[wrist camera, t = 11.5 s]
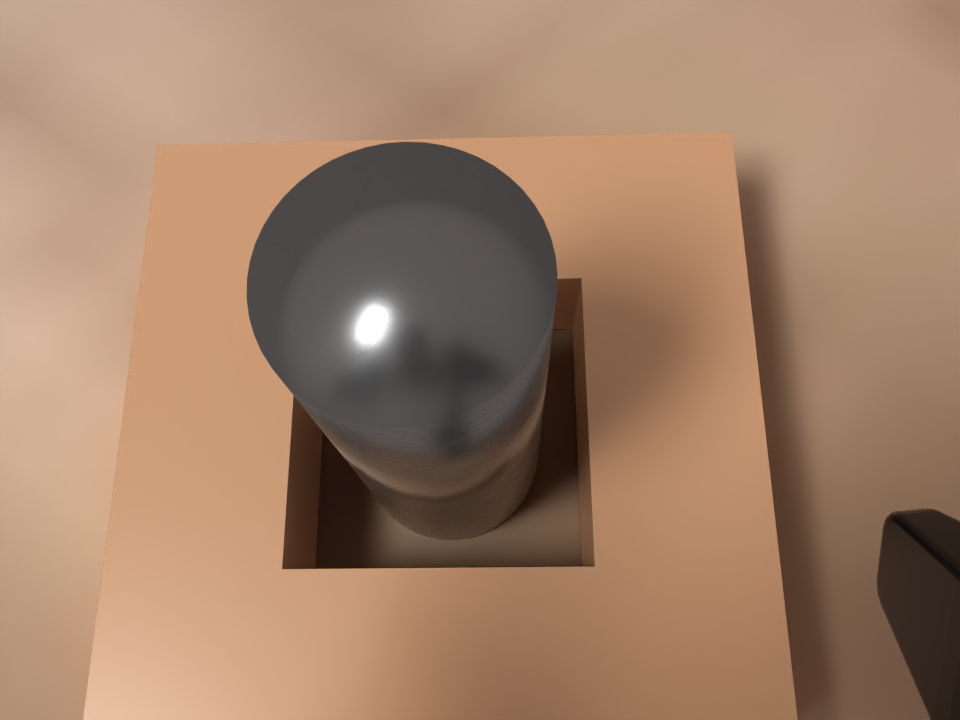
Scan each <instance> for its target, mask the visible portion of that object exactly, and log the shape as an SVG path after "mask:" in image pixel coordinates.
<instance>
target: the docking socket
mask: <svg viewBox="0 0 960 720" xmlns="http://www.w3.org/2000/svg"><path fill="white" fill-rule="evenodd" d="M394 142H426V143H432V144H439V145H445V146H448V147H452V148H455V149H459V150H462V151H465V152H467V153H470V154H472V155H475V156H477V157H479V158H481V159H483V160H485V161H487V162H488V163H490V164H492V165H494V166H495V167H497V168H498V169H499V170H501V171H502V172H504V173H505V174H506V175H508V176H509V177H510V178H511V179H512V180H513V181H514V182H515V183H516V184H517V185H519V186H520V187H521V188H522V189H523V190H524V192H525V193H526V194H527V195H528V197H529V198H530V199H531V200H532V202H533V203H534V204H535V206H536V208H537V209H538V211H539V213H540V214H541V216H542V218H543V219H544V221H545V224H546V226H547V229H548V231H549V234H550V236H551V239H552V243H553V247H554V251H555V255H556V263H557V273H558V276H557V296H556V305H555V314H554V322H553V329H573V353H574V377H575V401H576V426H577V450H578V474H579V498H580V523H581V547H582V567H487V568H368V569H315V564H316V546H317V527H318V509H319V490H320V472H321V453H322V435H323V431H322V430H321V429H320V428H319V426H318V425H317V424H316V423H315V421H314V420H313V419H312V418H311V416H310V415H309V414H308V413H307V411H306V410H305V409H304V408H303V406H302V405H301V404H300V403H299V401H298V400H297V399H296V398H295V397H294V395H293V394H292V393H291V392H290V390H289V389H288V388H287V387H286V385H285V384H284V383H283V382H282V380H281V379H280V378H279V377H278V375H277V374H276V373H275V372H274V371H273V369H272V368H271V366H270V365H269V363H268V362H267V360H266V358H265V357H264V355H263V354H262V352H261V350H260V347H259V345H258V343H257V341H256V338H255V336H254V333H253V330H252V326H251V323H250V319H249V314H248V306H247V275H248V269H249V263H250V259H251V255H252V252H253V249H254V246H255V243H256V240H257V238H258V236H259V234H260V232H261V229H262V227H263V225H264V224H265V222H266V220H267V219H268V217H269V216H270V214H271V212H272V211H273V209H274V208H275V207H276V206H277V204H278V203H279V202H280V201H281V200H282V198H283V197H284V196H285V195H286V194H287V193H288V192H289V191H290V190H291V189H292V188H293V187H294V186H295V185H296V184H297V183H298V182H299V181H301V180H302V179H303V178H305V177H306V176H307V175H309V174H310V173H311V172H313V171H314V170H316V169H317V168H319V167H321V166H322V165H324V164H326V163H327V162H329V161H331V160H333V159H335V158H338V157H340V156H342V155H344V154H347V153H349V152H352V151H355V150H359V149H362V148H365V147H369V146H374V145H379V144H384V143H394ZM83 720H798V718H797V709H796V700H795V691H794V682H793V673H792V664H791V655H790V646H789V637H788V628H787V620H786V611H785V602H784V593H783V584H782V575H781V566H780V557H779V548H778V539H777V530H776V522H775V513H774V504H773V495H772V486H771V477H770V468H769V459H768V450H767V441H766V432H765V423H764V415H763V406H762V397H761V388H760V379H759V370H758V361H757V352H756V343H755V334H754V325H753V317H752V308H751V299H750V290H749V281H748V272H747V263H746V254H745V245H744V236H743V227H742V219H741V210H740V201H739V192H738V183H737V174H736V165H735V156H734V147H733V138H732V132H722V133H678V134H634V135H590V136H546V137H503V138H459V139H415V140H371V141H327V142H283V143H239V144H195V145H158V148H157V156H156V164H155V171H154V179H153V187H152V194H151V202H150V210H149V217H148V225H147V233H146V240H145V248H144V256H143V263H142V271H141V279H140V287H139V294H138V302H137V310H136V317H135V325H134V333H133V340H132V348H131V356H130V363H129V371H128V379H127V386H126V394H125V402H124V409H123V417H122V425H121V432H120V440H119V448H118V455H117V463H116V471H115V478H114V486H113V494H112V501H111V509H110V517H109V525H108V532H107V540H106V548H105V555H104V563H103V571H102V578H101V586H100V594H99V601H98V609H97V617H96V624H95V632H94V640H93V647H92V655H91V663H90V670H89V678H88V686H87V693H86V701H85V709H84V716H83Z"/></svg>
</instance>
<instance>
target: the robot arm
mask: <svg viewBox="0 0 960 720" xmlns="http://www.w3.org/2000/svg"><path fill="white" fill-rule="evenodd" d="M877 590H878V596H879V599H880V603H881V605H882V608H883V610H884V612H885V615H886V617H887V619H888V622H889V624H890V626H891V629H892V631H893V633H894V636H895V638H896V640H897V643H898V645H899V647H900V650H901V652H902V654H903V656H904V659H905V661H906V663H907V666H908V668H909V670H910V673H911V675H912V677H913V680H914V682H915V684H916V687H917V689H918V691H919V694H920V696H921V698H922V701H923V703H924V705H925V707H926V710H927V712H928V714H929V717H930V719H931V720H960V521H958V520H956V519H954V518H952V517H950V516H947V515H945V514H943V513H941V512H939V511H937V510H934V509H928V508H926V509H916V510H906V511H897V512H893V513H891V514H890V515H889V516H887V518H886V520H885V522H884V526H883V533H882V541H881V549H880V557H879V565H878V574H877Z"/></svg>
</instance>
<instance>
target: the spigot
mask: <svg viewBox="0 0 960 720" xmlns="http://www.w3.org/2000/svg"><path fill="white" fill-rule="evenodd" d="M557 276H558V273H557V263H556V255H555V251H554V247H553V243H552V239H551V236H550V234H549V231H548V229H547V226H546V224H545V221H544V219H543V218H542V216H541V214H540V213H539V211H538V209H537V208H536V206H535V204H534V203H533V202H532V200H531V199H530V198H529V197H528V195H527V194H526V193H525V192H524V190H523V189H522V188H521V187H520V186H519V185H517V184H516V183H515V182H514V181H513V180H512V179H511V178H510V177H509V176H508V175H506V174H505V173H504V172H502V171H501V170H499V169H498V168H497V167H495V166H494V165H492V164H490V163H488V162H487V161H485V160H483V159H481V158H479V157H477V156H475V155H472V154H470V153H467V152H465V151H462V150H459V149H455V148H452V147H448V146H445V145H439V144H432V143H426V142H394V143H384V144H379V145H374V146H369V147H365V148H362V149H359V150H355V151H352V152H349V153H347V154H344V155H342V156H340V157H338V158H335V159H333V160H331V161H329V162H327V163H326V164H324V165H322V166H321V167H319V168H317V169H316V170H314V171H313V172H311V173H310V174H309V175H307V176H306V177H305V178H303V179H302V180H301V181H299V182H298V183H297V184H296V185H295V186H294V187H293V188H292V189H291V190H290V191H289V192H288V193H287V194H286V195H285V196H284V197H283V198H282V200H281V201H280V202H279V203H278V204H277V206H276V207H275V208H274V209H273V211H272V212H271V214H270V216H269V217H268V219H267V220H266V222H265V224H264V225H263V227H262V229H261V232H260V234H259V236H258V238H257V240H256V243H255V246H254V249H253V252H252V255H251V259H250V263H249V269H248V275H247V306H248V314H249V319H250V323H251V326H252V330H253V333H254V336H255V338H256V341H257V343H258V345H259V347H260V350H261V352H262V354H263V355H264V357H265V358H266V360H267V362H268V363H269V365H270V366H271V368H272V369H273V371H274V372H275V373H276V374H277V375H278V377H279V378H280V379H281V380H282V382H283V383H284V384H285V385H286V387H287V388H288V389H289V390H290V392H291V393H292V394H293V395H294V397H295V398H296V399H297V400H298V401H299V403H300V404H301V405H302V406H303V408H304V409H305V410H306V411H307V413H308V414H309V415H310V416H311V418H312V419H313V420H314V421H315V423H316V424H317V425H318V426H319V428H320V429H321V430H322V431H323V432H324V434H325V435H326V436H327V437H328V439H329V440H330V441H331V442H332V444H333V445H334V446H335V447H336V449H337V450H338V451H339V452H340V454H341V455H342V456H343V457H344V458H345V460H346V461H347V462H348V463H349V465H350V466H351V467H352V468H353V470H354V471H355V472H356V473H357V475H358V476H359V477H360V478H361V480H362V481H363V482H364V483H365V485H366V486H367V487H368V488H369V489H370V491H371V492H372V493H373V494H374V496H375V497H376V498H377V499H378V501H379V502H380V503H381V504H382V506H383V507H384V508H385V509H386V510H387V512H388V513H389V514H390V515H391V516H392V517H393V518H394V519H396V520H397V521H398V522H399V523H401V524H402V525H404V526H405V527H406V528H408V529H410V530H412V531H414V532H416V533H418V534H421V535H424V536H427V537H431V538H436V539H444V540H458V539H466V538H471V537H475V536H478V535H481V534H484V533H486V532H488V531H490V530H492V529H494V528H496V527H497V526H499V525H500V524H502V523H503V522H505V521H506V520H507V519H508V518H509V517H510V516H511V515H512V514H514V512H515V511H516V510H517V509H518V508H519V507H520V505H521V504H522V502H523V501H524V499H525V498H526V496H527V495H528V492H529V490H530V488H531V486H532V483H533V480H534V477H535V474H536V468H537V462H538V453H539V444H540V435H541V427H542V418H543V409H544V401H545V392H546V383H547V375H548V366H549V357H550V348H551V340H552V331H553V322H554V314H555V305H556V296H557Z"/></svg>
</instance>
